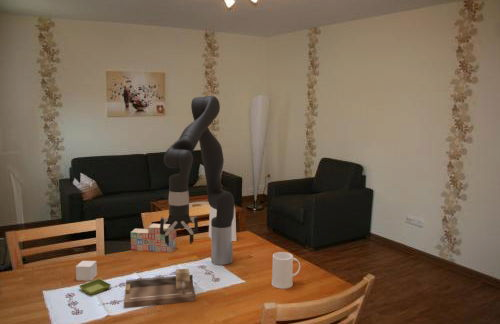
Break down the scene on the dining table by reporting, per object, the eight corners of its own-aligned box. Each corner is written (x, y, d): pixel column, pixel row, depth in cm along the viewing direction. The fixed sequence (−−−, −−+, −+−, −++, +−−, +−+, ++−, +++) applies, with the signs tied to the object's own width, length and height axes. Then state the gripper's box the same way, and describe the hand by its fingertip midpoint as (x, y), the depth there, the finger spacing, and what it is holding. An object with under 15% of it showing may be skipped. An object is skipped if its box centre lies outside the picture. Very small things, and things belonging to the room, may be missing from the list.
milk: (208, 237, 216) (208, 190, 212) (228, 234, 220) (228, 188, 217) (215, 244, 205) (215, 194, 201) (236, 241, 209) (236, 193, 206)
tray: (192, 285, 158) (192, 274, 157) (195, 300, 146) (195, 289, 145) (126, 291, 153) (126, 279, 152) (123, 307, 140) (123, 295, 139)
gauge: (188, 283, 156) (188, 268, 155) (190, 293, 147) (190, 278, 146) (176, 284, 154) (175, 269, 154) (177, 294, 146) (176, 279, 145)
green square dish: (99, 283, 160) (99, 278, 160) (111, 289, 154) (111, 284, 154) (78, 290, 153) (78, 285, 153) (90, 297, 148) (90, 292, 148)
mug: (297, 278, 165) (298, 251, 164) (303, 287, 157) (304, 258, 155) (269, 280, 164) (270, 252, 162) (273, 289, 155) (274, 260, 154)
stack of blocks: (130, 250, 195) (129, 226, 193) (135, 246, 201) (135, 222, 200) (172, 252, 193) (172, 228, 191) (176, 248, 199) (176, 224, 197)
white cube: (83, 274, 167) (82, 260, 167) (97, 274, 167) (96, 261, 166) (76, 280, 161) (75, 266, 161) (91, 280, 161) (90, 266, 160)
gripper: (197, 199, 154) (197, 239, 156) (159, 200, 151) (160, 241, 154) (198, 204, 147) (198, 246, 149) (159, 205, 144) (159, 248, 146)
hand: (179, 243), depth 151 cm, fingers open, 8 cm apart
